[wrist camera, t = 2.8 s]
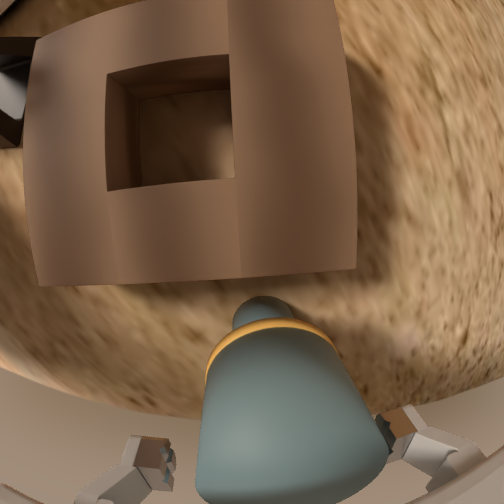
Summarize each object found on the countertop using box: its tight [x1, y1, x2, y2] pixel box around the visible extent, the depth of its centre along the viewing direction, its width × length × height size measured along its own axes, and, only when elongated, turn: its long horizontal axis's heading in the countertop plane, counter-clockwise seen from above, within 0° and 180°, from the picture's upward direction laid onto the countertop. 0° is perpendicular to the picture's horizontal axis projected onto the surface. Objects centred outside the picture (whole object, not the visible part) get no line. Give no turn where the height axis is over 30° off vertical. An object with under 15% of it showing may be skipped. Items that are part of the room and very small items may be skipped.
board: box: [23, 0, 357, 286], centre depth 13 cm, size 16×14×5 cm
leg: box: [195, 296, 389, 504], centre depth 13 cm, size 6×6×12 cm
